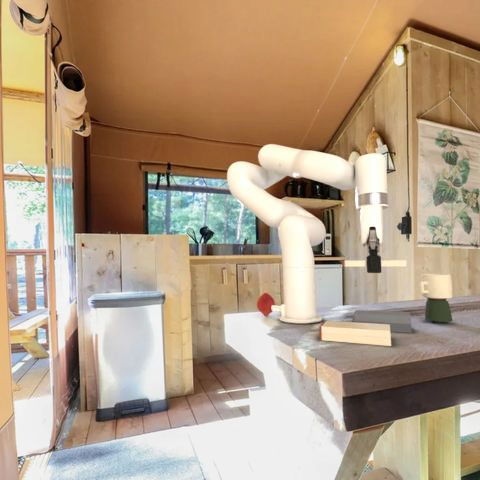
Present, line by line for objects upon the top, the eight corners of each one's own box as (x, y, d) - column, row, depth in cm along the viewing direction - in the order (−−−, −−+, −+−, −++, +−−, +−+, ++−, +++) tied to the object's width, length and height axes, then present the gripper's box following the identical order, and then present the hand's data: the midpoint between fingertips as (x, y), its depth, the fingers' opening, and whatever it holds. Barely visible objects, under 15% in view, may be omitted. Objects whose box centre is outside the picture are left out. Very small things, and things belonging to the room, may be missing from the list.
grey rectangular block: (351, 329, 78) (351, 313, 78) (353, 324, 83) (353, 309, 83) (411, 333, 72) (410, 315, 72) (409, 328, 77) (408, 312, 77)
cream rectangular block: (319, 340, 67) (318, 326, 68) (325, 333, 74) (324, 320, 74) (391, 346, 61) (390, 331, 62) (390, 338, 68) (389, 324, 68)
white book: (342, 266, 77) (342, 260, 78) (345, 265, 84) (345, 260, 84) (406, 266, 72) (406, 260, 72) (404, 265, 78) (404, 259, 78)
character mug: (441, 318, 88) (438, 273, 89) (466, 323, 81) (462, 274, 82) (411, 321, 85) (408, 274, 86) (434, 326, 78) (431, 275, 79)
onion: (275, 314, 101) (274, 290, 102) (275, 317, 96) (274, 291, 96) (257, 314, 102) (256, 290, 103) (257, 317, 96) (256, 292, 97)
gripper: (358, 209, 88) (360, 270, 87) (353, 198, 72) (356, 273, 71) (387, 206, 85) (389, 270, 84) (388, 195, 69) (392, 274, 68)
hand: (374, 271), depth 78 cm, fingers closed on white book, 7 cm apart
